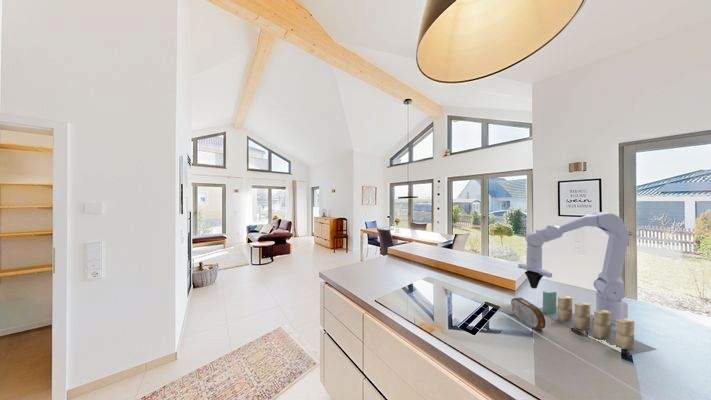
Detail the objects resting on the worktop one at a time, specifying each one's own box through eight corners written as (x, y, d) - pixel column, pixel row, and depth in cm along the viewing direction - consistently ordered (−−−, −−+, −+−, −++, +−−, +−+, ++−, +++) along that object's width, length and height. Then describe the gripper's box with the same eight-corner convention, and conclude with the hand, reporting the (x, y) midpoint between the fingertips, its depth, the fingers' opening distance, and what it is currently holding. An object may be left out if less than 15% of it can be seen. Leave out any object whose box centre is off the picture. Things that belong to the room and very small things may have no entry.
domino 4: (604, 334, 83) (604, 309, 83) (610, 337, 82) (610, 312, 82) (593, 336, 82) (593, 311, 82) (600, 339, 81) (600, 313, 80)
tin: (546, 333, 84) (546, 311, 84) (538, 334, 84) (538, 311, 84) (516, 313, 100) (516, 294, 99) (509, 313, 99) (509, 294, 99)
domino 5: (626, 344, 78) (626, 318, 77) (634, 348, 76) (634, 320, 76) (615, 346, 76) (616, 319, 76) (623, 350, 75) (623, 322, 75)
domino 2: (567, 317, 95) (567, 295, 95) (572, 319, 93) (572, 297, 93) (557, 318, 94) (557, 297, 94) (562, 321, 92) (562, 298, 92)
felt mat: (555, 306, 105) (555, 305, 105) (657, 350, 75) (657, 349, 75) (531, 309, 102) (531, 309, 102) (626, 356, 72) (626, 355, 72)
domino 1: (551, 310, 101) (552, 290, 101) (556, 312, 99) (556, 291, 99) (542, 311, 100) (542, 291, 100) (547, 313, 98) (547, 292, 98)
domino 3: (584, 325, 89) (584, 302, 89) (589, 327, 87) (590, 304, 87) (574, 326, 88) (574, 303, 88) (580, 329, 86) (580, 305, 86)
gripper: (513, 255, 112) (512, 282, 113) (543, 263, 98) (542, 295, 98) (524, 254, 114) (524, 281, 114) (556, 262, 100) (555, 293, 100)
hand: (533, 287), depth 106 cm, fingers closed
